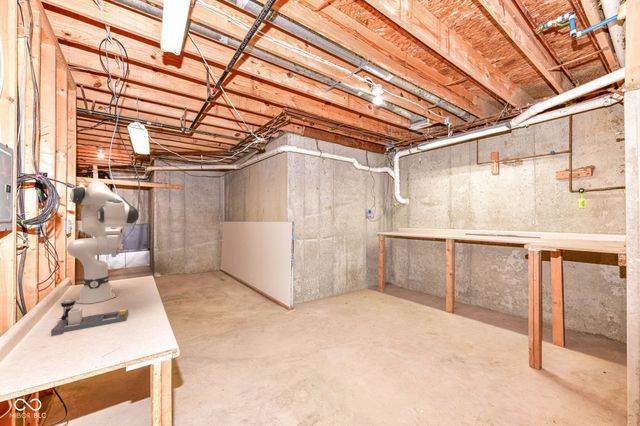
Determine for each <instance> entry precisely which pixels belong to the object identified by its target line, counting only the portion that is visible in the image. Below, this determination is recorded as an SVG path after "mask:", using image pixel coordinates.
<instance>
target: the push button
mask: <svg viewBox="0 0 640 426" xmlns="http://www.w3.org/2000/svg"><path fill="white" fill-rule="evenodd" d="M76 301H77V300H74V299H72V298H70V299H65V300H63V302H60V305H61V307H62V308H63V309H62V311H63V314H62V316H60V317H61V318H58V319H57V322H60V321H62V320H68V312H69V311H70V310H71V309H73V308H74V306H75V305H76Z"/></svg>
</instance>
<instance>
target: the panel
mask: <svg viewBox="0 0 640 426" xmlns="http://www.w3.org/2000/svg"><path fill="white" fill-rule="evenodd" d="M119 311H120V310H118V311H112V312H106V313H99V314H94V315H88V316H87V315H86V316H82V323H77V324H71V325H68V320H62V321H58V323H56V324H55V326H53V328H52V329H51V331H50V337H54V336H60V335H64V334H65V333H67V332H72V331H78V330H79V331H80V330H83V329H89V328H94V327H100V326H106V325H111V324H112V325H113V324H116V323H117V324H118V323H122V322H126V320H127V319H128V315H129V309H126V314H125V315H119Z"/></svg>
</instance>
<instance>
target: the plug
mask: <svg viewBox="0 0 640 426" xmlns="http://www.w3.org/2000/svg"><path fill="white" fill-rule="evenodd" d="M82 317H83V307H73V309H71V310H70V311H69V312H68V325H71V324H77V323H82Z"/></svg>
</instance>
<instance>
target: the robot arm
mask: <svg viewBox="0 0 640 426" xmlns="http://www.w3.org/2000/svg"><path fill="white" fill-rule="evenodd" d="M69 197H70V201H71V202H72V203H73V204H77V205H83V206H82V208H81V213H80V215H81V217H80V219H81V227H82V228H81V229H82V231H83V232H84V233H85V234H86V235H89V236H91V237H87V238H78V239H77V238H76V239H74V240H71V241H70V242H69V243H68V245H67V250H66V251H67V253H68V254H69V255H70V256H71V257H73V258H75V259H77V260H78V261H80V263H81V264H82V267H83V273H84V276H83V277H84V278H83V282H82V283H83V286H82V287H81V288H80V289H79V299H78V300H75V301H76V302H75V304H84V305H85V304H95V303H100V302H104V301H108V300H111V299H114V297H115V298H117V297H116V294H115V292H114V290H113V289H112V285H111V284H110V282H109V280H110V277H109V274H108V271H109V270H108V269H109V266H108V263H107V262H105V261H103V260H100V259H96V256H102V255H110V254H111V255H110V256H111V258H116V257H117V256H118V255H120V250H121V249H122V244H123V236H124V235H123V234H126V224H128V225H129V224H130V225H131V224H132V225H133V224H134V223H136V222H137V221H138V220H139V216H140V214H139V211H138V209H137V208H136V207H134V206H133V205H131V204H130V202H129V201H127V200H126V199H125V198H124V197H123V196H120V195H118V194H116V192H114V190H112V189H110V188H109V186H108V185H107V184H105V183H104V182H103V181H100V180H96V181H95V180H94V181H91V182H90V183H89V184H88V185H87V186H86V187H83V186H79V187H74V188H73V189H71V191H70V195H69Z"/></svg>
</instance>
